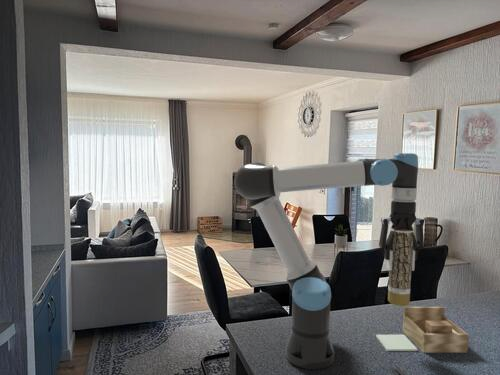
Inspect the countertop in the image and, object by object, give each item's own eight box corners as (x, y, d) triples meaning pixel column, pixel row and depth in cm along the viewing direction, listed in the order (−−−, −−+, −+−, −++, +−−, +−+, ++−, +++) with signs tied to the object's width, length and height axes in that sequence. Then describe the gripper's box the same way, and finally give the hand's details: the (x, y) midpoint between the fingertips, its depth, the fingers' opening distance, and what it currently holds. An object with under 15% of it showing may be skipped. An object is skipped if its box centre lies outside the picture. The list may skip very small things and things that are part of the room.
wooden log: (411, 307, 121) (415, 231, 119) (389, 305, 122) (393, 230, 120) (407, 299, 127) (410, 227, 125) (386, 298, 129) (389, 226, 127)
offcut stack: (426, 350, 122) (428, 326, 121) (420, 344, 126) (422, 320, 125) (459, 350, 122) (461, 326, 121) (452, 344, 126) (454, 320, 125)
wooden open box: (423, 352, 120) (424, 325, 119) (402, 330, 135) (403, 306, 134) (467, 352, 121) (469, 325, 120) (442, 330, 136) (443, 306, 135)
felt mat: (387, 351, 121) (387, 349, 121) (375, 336, 131) (375, 334, 131) (417, 351, 121) (417, 349, 121) (403, 336, 131) (403, 334, 131)
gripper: (378, 201, 118) (375, 272, 120) (439, 202, 118) (435, 273, 120) (369, 198, 125) (366, 265, 127) (427, 199, 126) (423, 266, 128)
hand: (400, 269), depth 124 cm, fingers closed on wooden log, 7 cm apart
